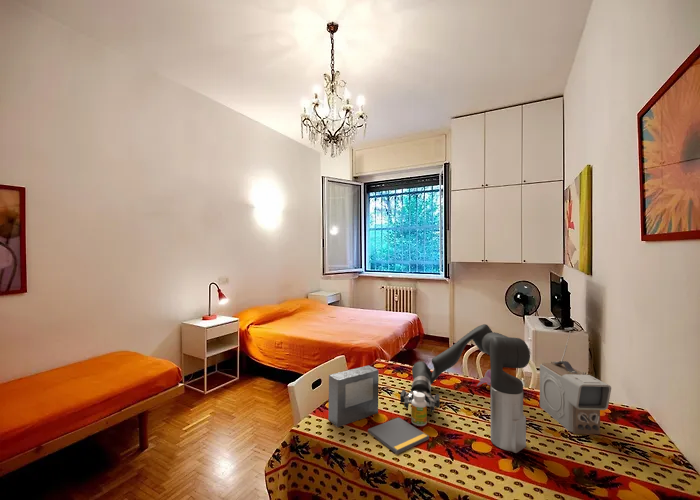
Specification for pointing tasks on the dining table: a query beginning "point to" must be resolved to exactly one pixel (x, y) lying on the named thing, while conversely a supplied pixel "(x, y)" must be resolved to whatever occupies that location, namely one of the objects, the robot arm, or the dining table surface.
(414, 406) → the supplement bottle
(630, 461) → the dining table surface
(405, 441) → the mat
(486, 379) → the lily
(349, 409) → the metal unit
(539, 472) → the dining table surface
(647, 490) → the dining table surface
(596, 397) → the portable television
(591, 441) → the dining table surface
